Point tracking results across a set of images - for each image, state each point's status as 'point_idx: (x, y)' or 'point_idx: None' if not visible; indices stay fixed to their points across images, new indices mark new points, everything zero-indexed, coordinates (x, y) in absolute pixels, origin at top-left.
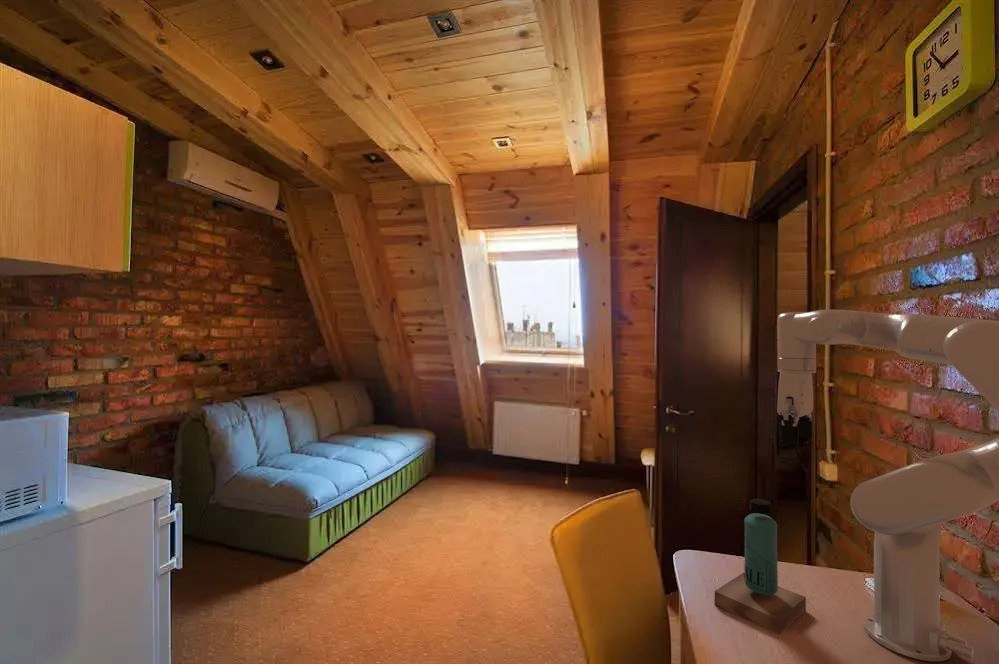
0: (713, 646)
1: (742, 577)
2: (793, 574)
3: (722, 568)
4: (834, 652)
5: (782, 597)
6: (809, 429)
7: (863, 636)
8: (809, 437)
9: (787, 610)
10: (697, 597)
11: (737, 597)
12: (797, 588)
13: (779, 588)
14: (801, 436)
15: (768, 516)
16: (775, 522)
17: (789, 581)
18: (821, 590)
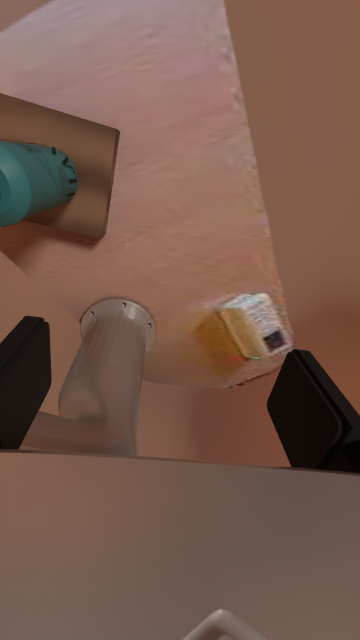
0: None
1: (94, 132)
2: (219, 204)
3: (165, 72)
4: (30, 271)
5: (72, 209)
6: (283, 440)
7: (93, 295)
8: (267, 403)
9: (36, 221)
10: (8, 55)
11: (10, 140)
12: (171, 215)
13: (100, 200)
14: (280, 372)
15: (4, 205)
16: (3, 222)
17: (188, 201)
18: (186, 246)
